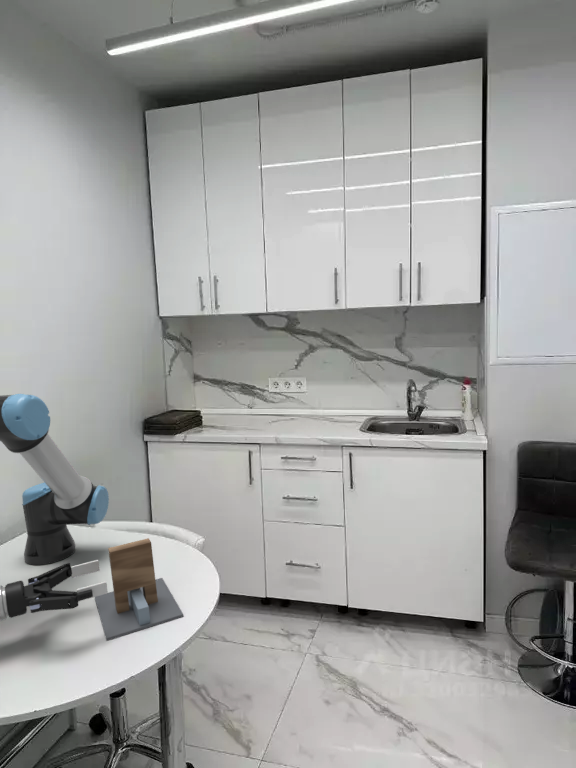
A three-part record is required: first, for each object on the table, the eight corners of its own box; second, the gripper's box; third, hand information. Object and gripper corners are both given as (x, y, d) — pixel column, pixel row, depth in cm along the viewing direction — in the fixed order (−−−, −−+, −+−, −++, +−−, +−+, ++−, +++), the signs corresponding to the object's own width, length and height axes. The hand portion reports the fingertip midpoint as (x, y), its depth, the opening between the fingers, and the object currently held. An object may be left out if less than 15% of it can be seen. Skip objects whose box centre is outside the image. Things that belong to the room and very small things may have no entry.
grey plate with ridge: (94, 598, 145) (92, 582, 144) (162, 579, 152) (160, 564, 152) (106, 640, 125) (104, 621, 124) (183, 616, 133) (181, 598, 132)
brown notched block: (115, 608, 138) (108, 548, 136) (155, 596, 142) (148, 538, 140) (117, 613, 135) (110, 552, 133) (157, 601, 139) (151, 542, 137)
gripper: (8, 593, 136) (97, 570, 146) (7, 644, 114) (112, 613, 123) (4, 565, 135) (94, 543, 145) (2, 610, 113) (108, 581, 122)
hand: (102, 575), depth 134 cm, fingers open, 13 cm apart
